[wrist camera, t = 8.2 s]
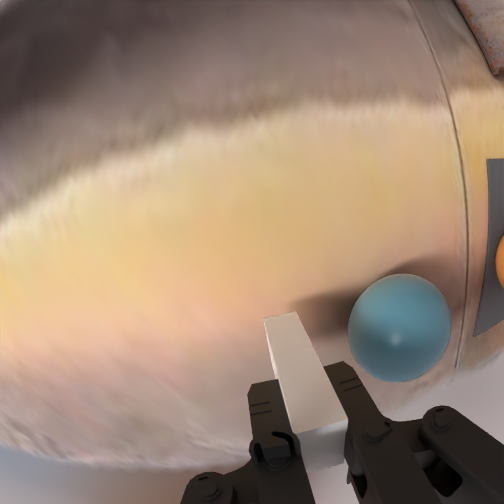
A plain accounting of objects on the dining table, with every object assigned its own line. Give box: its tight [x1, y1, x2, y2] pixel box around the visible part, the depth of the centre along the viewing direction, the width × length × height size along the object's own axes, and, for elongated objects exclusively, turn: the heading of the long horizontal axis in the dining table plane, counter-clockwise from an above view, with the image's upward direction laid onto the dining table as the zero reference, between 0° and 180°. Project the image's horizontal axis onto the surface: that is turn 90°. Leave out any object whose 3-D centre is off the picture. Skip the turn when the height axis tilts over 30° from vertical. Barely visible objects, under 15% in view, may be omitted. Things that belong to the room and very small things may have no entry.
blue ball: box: [348, 273, 451, 382], centre depth 13 cm, size 6×6×6 cm
